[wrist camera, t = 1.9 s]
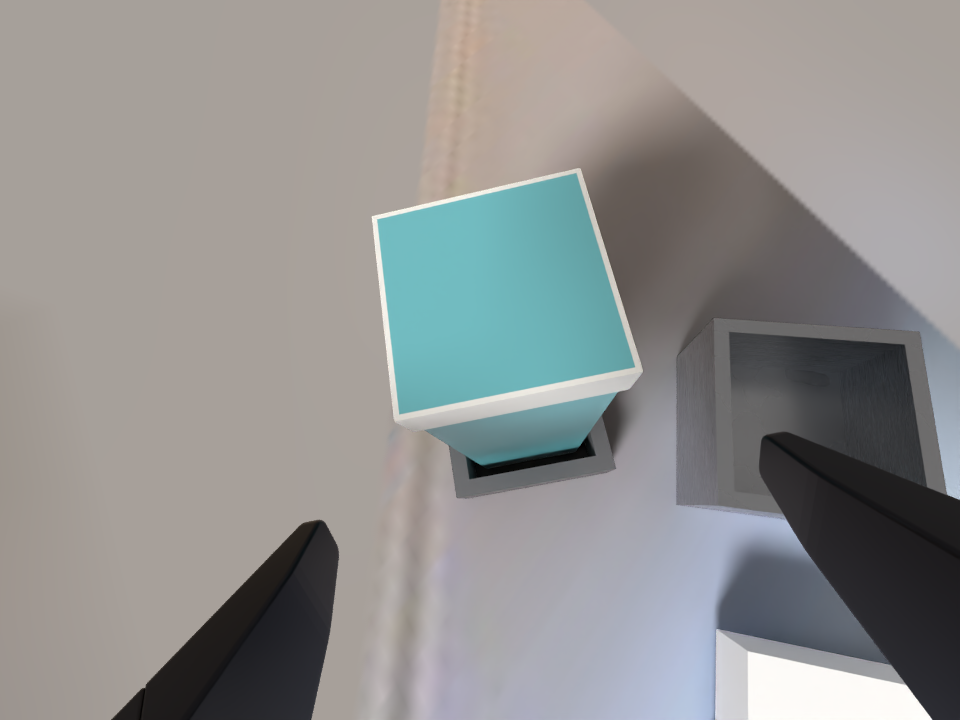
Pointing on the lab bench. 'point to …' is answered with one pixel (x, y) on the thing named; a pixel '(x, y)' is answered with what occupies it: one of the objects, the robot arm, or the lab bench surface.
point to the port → (798, 406)
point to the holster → (534, 469)
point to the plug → (503, 319)
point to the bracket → (805, 684)
